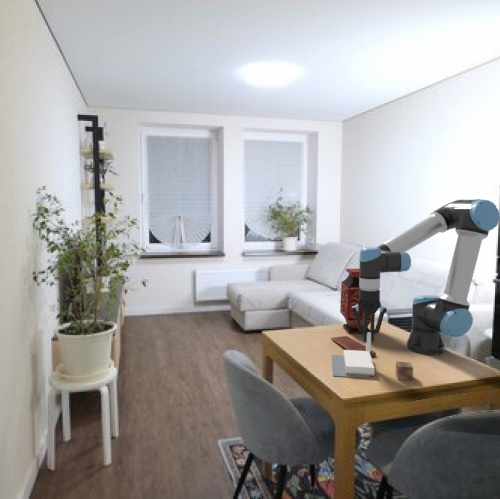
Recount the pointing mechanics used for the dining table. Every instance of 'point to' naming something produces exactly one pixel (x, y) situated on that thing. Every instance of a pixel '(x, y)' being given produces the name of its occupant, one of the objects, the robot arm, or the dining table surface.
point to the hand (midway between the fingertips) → (368, 350)
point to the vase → (351, 302)
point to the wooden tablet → (351, 344)
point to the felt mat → (342, 368)
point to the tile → (358, 362)
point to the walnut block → (404, 371)
